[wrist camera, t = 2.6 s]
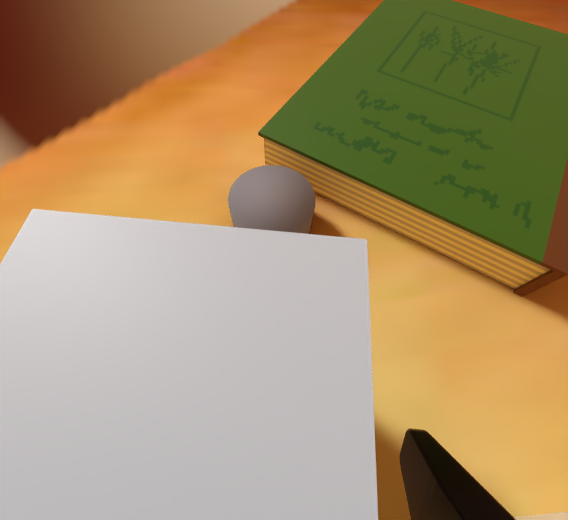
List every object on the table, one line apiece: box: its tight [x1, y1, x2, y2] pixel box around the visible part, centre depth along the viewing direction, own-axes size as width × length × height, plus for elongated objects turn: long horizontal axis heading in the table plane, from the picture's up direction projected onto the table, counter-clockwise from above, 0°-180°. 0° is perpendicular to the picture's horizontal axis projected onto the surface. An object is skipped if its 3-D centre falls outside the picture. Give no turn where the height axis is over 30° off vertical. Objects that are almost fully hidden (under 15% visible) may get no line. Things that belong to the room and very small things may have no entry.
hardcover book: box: [258, 0, 568, 296], centre depth 24 cm, size 25×19×4 cm
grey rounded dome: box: [228, 165, 315, 234], centre depth 19 cm, size 5×5×3 cm
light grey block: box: [0, 209, 378, 520], centre depth 9 cm, size 5×5×13 cm
